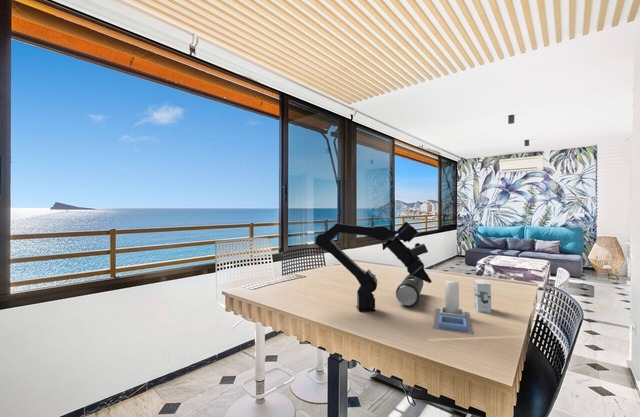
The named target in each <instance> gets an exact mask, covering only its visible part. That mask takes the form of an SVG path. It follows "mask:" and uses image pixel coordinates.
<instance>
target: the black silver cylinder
mask: <svg viewBox="0 0 640 417" xmlns="http://www.w3.org/2000/svg"><path fill="white" fill-rule="evenodd" d="M423 287H424V280H422V279H419V278H417V277H415V276H412V275H410V274H409V273H408V274H407V275H406V277H405V278H404V279H403V280H402V282H401V283H400V284H399V285H398V286H397V288H396V290H395V296H396V299H397V300H398V302H399V303H400V304H402V305H404V306H406V307H407V306H408V307H412V306H415V305H417V303H418V302H419V300H420V297H421V293H422V289H423Z"/></svg>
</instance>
